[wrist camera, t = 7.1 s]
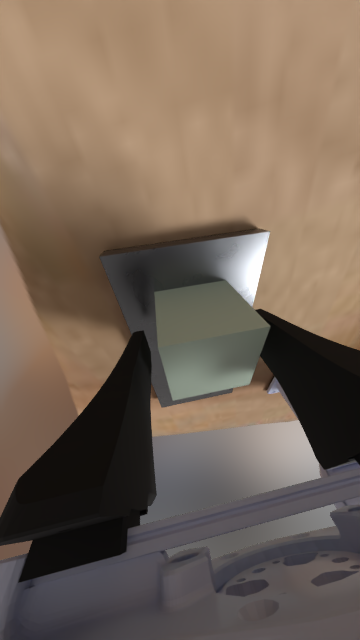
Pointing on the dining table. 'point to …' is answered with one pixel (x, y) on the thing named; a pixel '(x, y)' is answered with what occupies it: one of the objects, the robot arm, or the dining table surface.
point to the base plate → (181, 282)
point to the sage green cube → (207, 338)
